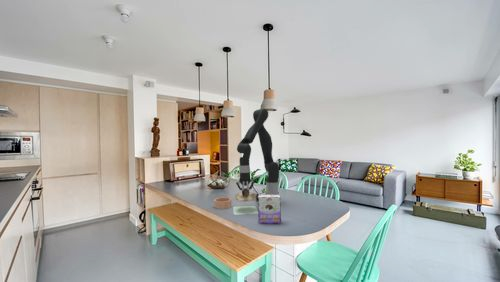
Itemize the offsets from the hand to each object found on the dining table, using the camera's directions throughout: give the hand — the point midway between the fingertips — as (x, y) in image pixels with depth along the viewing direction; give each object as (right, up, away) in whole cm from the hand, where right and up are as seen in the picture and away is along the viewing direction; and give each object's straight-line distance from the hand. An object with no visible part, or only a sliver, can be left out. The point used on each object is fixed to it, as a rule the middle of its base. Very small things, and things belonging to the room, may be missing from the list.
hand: (245, 195), depth 154 cm
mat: (0, -11, 0) cm, 11 cm away
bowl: (-17, -11, +9) cm, 23 cm away
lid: (0, -1, 0) cm, 1 cm away
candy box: (+15, -11, -21) cm, 28 cm away
